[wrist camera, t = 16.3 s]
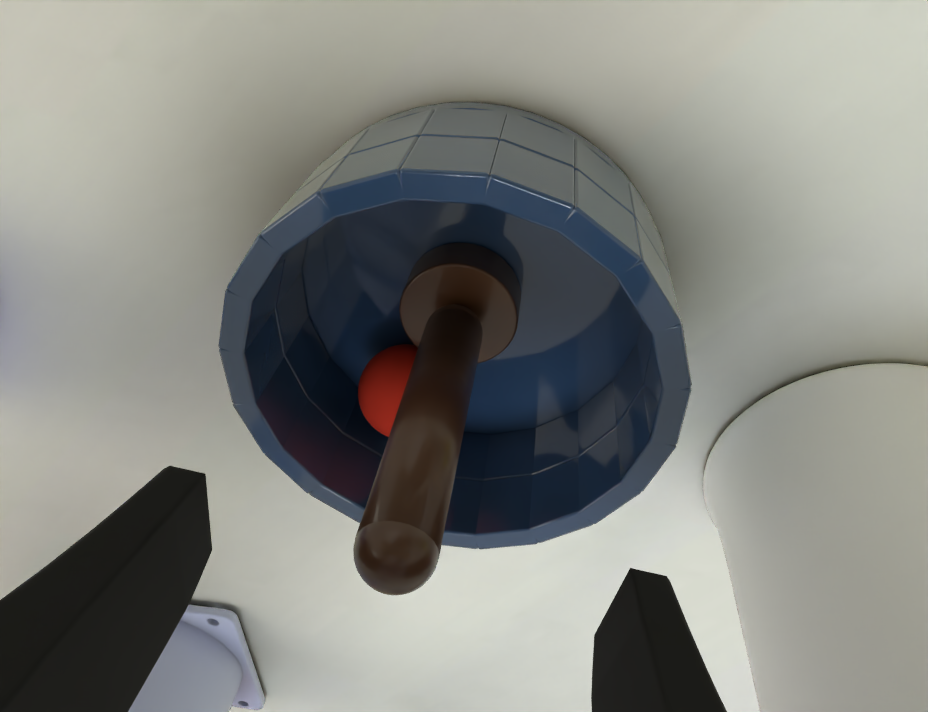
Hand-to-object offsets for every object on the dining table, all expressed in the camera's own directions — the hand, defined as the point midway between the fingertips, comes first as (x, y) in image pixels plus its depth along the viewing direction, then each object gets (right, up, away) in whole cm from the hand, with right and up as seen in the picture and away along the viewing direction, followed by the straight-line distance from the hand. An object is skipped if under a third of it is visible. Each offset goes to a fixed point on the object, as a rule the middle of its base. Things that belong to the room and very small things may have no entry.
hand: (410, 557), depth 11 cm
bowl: (+1, +5, +7) cm, 9 cm away
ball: (-1, +2, +7) cm, 7 cm away
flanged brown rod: (+1, +5, +6) cm, 8 cm away
